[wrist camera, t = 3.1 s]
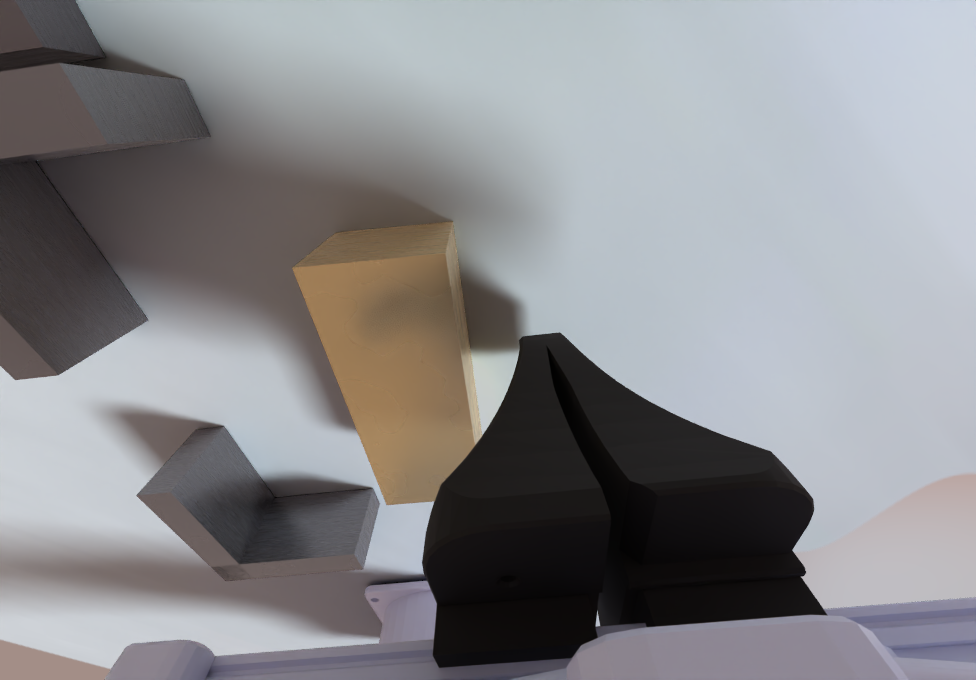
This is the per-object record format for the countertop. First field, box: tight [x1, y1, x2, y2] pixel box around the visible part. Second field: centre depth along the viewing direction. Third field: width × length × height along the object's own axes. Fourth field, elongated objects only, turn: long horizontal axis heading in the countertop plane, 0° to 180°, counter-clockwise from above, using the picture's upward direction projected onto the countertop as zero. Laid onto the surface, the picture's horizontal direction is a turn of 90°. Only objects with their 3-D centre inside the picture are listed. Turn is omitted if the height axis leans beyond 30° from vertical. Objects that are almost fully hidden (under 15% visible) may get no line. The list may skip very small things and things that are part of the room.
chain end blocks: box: [0, 0, 380, 581], centre depth 12 cm, size 23×6×3 cm, turn 6°
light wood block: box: [292, 221, 482, 505], centre depth 12 cm, size 9×4×3 cm, turn 5°
